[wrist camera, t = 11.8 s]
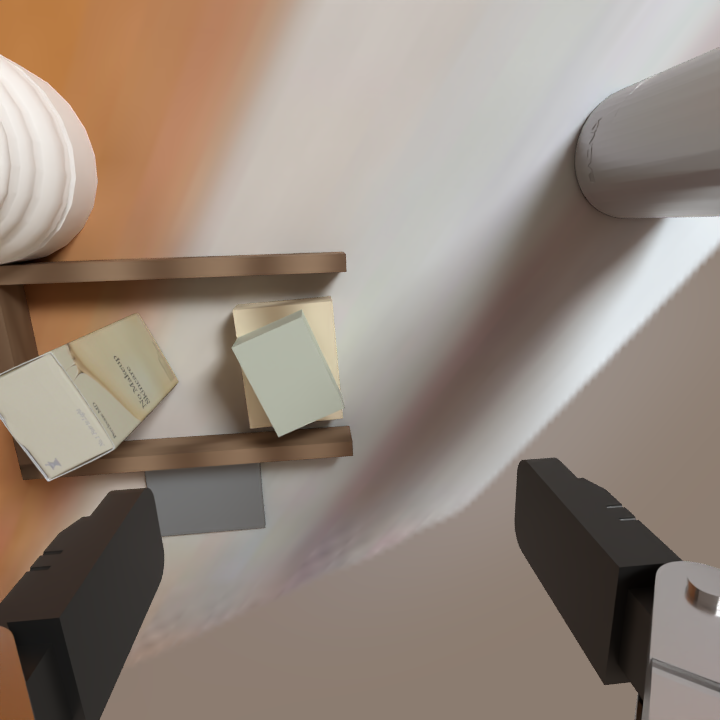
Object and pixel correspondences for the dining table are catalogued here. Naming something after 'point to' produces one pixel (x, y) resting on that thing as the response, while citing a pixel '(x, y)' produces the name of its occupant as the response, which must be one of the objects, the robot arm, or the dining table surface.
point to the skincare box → (84, 395)
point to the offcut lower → (268, 312)
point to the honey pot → (40, 168)
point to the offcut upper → (288, 373)
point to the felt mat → (207, 498)
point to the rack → (17, 345)
